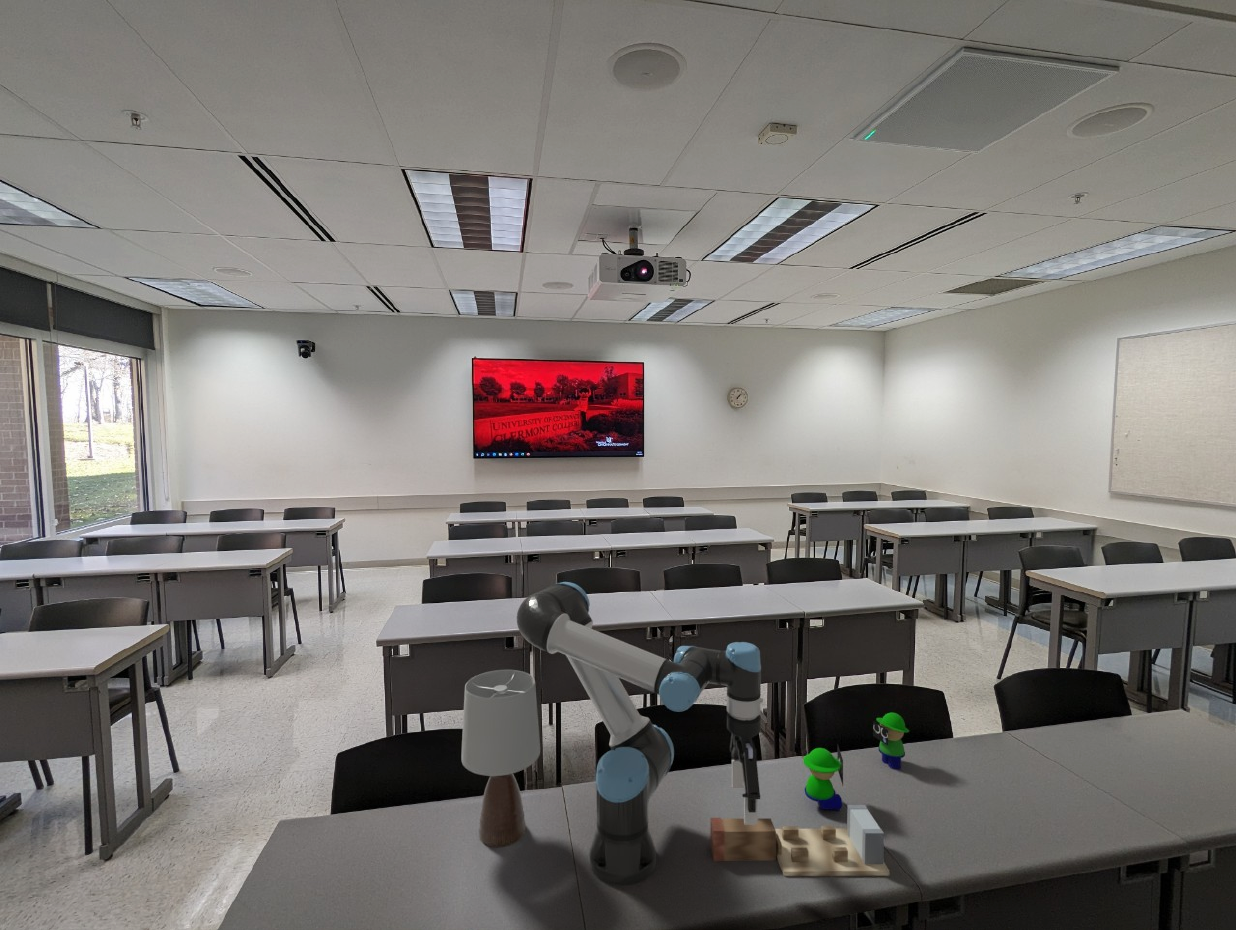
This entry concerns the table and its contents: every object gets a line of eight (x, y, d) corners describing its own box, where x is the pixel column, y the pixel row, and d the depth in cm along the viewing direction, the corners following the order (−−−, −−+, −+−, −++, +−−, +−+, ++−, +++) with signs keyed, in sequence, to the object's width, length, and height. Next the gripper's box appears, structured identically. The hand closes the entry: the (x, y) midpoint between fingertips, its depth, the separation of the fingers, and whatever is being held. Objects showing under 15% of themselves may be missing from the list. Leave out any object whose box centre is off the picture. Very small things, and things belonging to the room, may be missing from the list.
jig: (783, 876, 129) (784, 860, 129) (767, 833, 143) (767, 818, 143) (889, 876, 129) (889, 859, 129) (862, 833, 143) (862, 818, 143)
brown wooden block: (713, 862, 134) (713, 831, 133) (710, 847, 138) (710, 817, 138) (775, 861, 134) (776, 830, 133) (770, 847, 138) (770, 817, 138)
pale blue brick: (864, 864, 131) (865, 833, 131) (847, 834, 141) (847, 805, 141) (883, 864, 131) (883, 833, 131) (864, 833, 141) (864, 804, 141)
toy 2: (868, 758, 176) (869, 709, 175) (892, 753, 179) (893, 704, 178) (890, 774, 168) (891, 722, 167) (915, 769, 170) (916, 718, 170)
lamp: (552, 815, 150) (551, 672, 148) (521, 866, 132) (519, 704, 131) (486, 803, 155) (484, 664, 153) (447, 851, 137) (444, 695, 136)
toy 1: (844, 820, 148) (844, 761, 147) (805, 815, 150) (805, 757, 149) (837, 794, 159) (837, 739, 158) (801, 791, 160) (800, 736, 160)
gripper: (775, 741, 122) (775, 841, 123) (747, 689, 147) (748, 773, 148) (738, 741, 122) (738, 841, 123) (717, 690, 147) (718, 773, 148)
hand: (743, 804), depth 135 cm, fingers open, 13 cm apart
